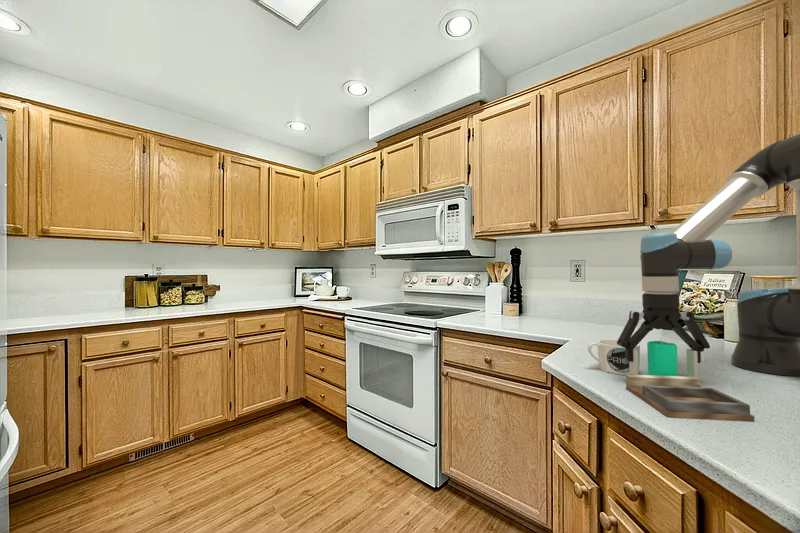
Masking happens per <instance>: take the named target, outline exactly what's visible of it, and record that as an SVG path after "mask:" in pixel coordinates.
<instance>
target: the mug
mask: <svg viewBox="0 0 800 533" xmlns="http://www.w3.org/2000/svg"><path fill="white" fill-rule="evenodd" d="M617 341H618V339H615V338H614V339H612V338H607V339H605V338H604V339H598V340H597V342H593V341H592V342H590V343H589V344H588V346H587V352H588V353H589V355H590V356H591V357H592V358H593V359H594V360H595V361H596V362H597V363H598V368H599V369H600V370H601V371H603V372H604V373H605V372H606V373H608V372H609V373H608V374H612V373H613V375H619V376H626V375H633V374H632V373H630V371H629V361H627V360H626V354H625V348H624V347H622V346H620V345H618V344H617ZM593 346H597V356H598V357H597V356H596V355H595V354H594V353H593V352H592V348H593ZM634 349H636V350H637V352H638V374H639V373H640V357H641V354H640V353H641V352H640V349H641V345H640V343H639V344H638V345H637V346H636V347H635V348H634Z"/></svg>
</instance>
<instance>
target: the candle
mask: <svg viewBox="0 0 800 533" xmlns="http://www.w3.org/2000/svg"><path fill="white" fill-rule="evenodd" d="M646 345H647V375H655V376H679V367H678V346H677V345H676V344H675V343H673V342H666V341H663V337H662V336H661V337H660V340H650V341H648V342H647V343H646Z"/></svg>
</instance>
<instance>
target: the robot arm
mask: <svg viewBox="0 0 800 533" xmlns="http://www.w3.org/2000/svg"><path fill="white" fill-rule="evenodd" d="M783 184H786V186H788V187H790V188H792V189H794V190H795V209H796V210H795V211H796V212H795V213H796V214H795V218H796V220H795V223H796V225H795V226H796V230H795V231H796V232H795V233H796V234H795V235H796V282H794V283H793V284H791V285H790V286H788V287H786V288H785V287H784V288H780V287H779V288H764V289H763V288H761V289H747V290H742V291H740V292H738V294H737V302H736V306H737V307H736V308H737V322H738V323H737V324H738V340H737V342H736V345H735V348H734V351H733V353H732V355H731V364H732V366H733V365H734V366H735V367H738V368H741V369H744V370H749V371H751V372H752V371H753V372H758V373H763V374H770V375H771V374H772V375H778V376H789V377H800V133H798V134H795V135H793V136H790V137H787V138H784V139H781V140H778V141H776V142H774V143H771V144H769V145H767V146H766V147H764V148H763V149H761V150H760V151H757V152H756V153H755V154H754V155H753V156H751V157H750V158H748V159H747V160H745V162H744V163H742V164H741V165H740V166H739V167H738V168H736V169H735V170H734V171H733V172H732V173H731V174H730V175H729V176H728V177H727V179H726V183H725V184H724V185H723V186H722V187H721V188H720V189H718V190H717V191H716V192H715V193H713V195H711V196H710V197H709V198H708V199H707V200H705V202H704V203H702V204H701V205H700V206H699V207H697V209H696V210H694V211H693V212H692V213H691V214H689V216H687V218H685V219H684V220H683V221H682V222H680V223H679V224H678V225H677V226H676V227H674V229H673V230H671V231H670V232H659V233H657V232H656V233H649V234H645V235H643V236H642V237H641V239H640V251H639V252H640V262H641V263H640V266H641V290H642V292H643V293H642V294H641V298H642V302H641V303H642V312H640V311H635V310H630V311H629V314H628V320H627V322H626V324H625V325H624V328H623V330H622V331H621V334H620V335H619V337H618V339H617V340H618V341H617V344H618V345H620V346H622V347H624V348H625V354H626V360H627V361H629V371H630V373H632V374H633V375H639V373H638V352H637V350H636V349H634V348H635V347H636V346H637V345H638V344H639V345H640V343H641V341H642V340H643V339H644V338H645V337H646V336H647V335H648V334H649V333H650V332H651V331H653V330H654V329H655V330H662V329H663V330H664V329H665V330H672V331H674V333H675V334H676V335H677V336H678V337H679V338H680V339H681V340H682V341H683V342H684V343H685V344H686V345H687V346H688V348H686V349H685V350H686V374H687V375H688V376H690V377H696V378H699V365H698V364H701V362H702V360H701V359H702V358H701V357H702V355H701V353H703V352H704V351H705V349H710V347H711V345H710V343H709V342H708V340H707V338H706V336H705V335H704V333H703V331H702V330H701V329H700V327H699V325H698V322H697V321H696V319H695V314H694V312H692V311H688V310H683V311H681V312H680V310H679V308H680V294H678V292H680V283H679V275H680V274H679V270H716V269H717V270H718V269H719V270H720V269H722V268H723V269H724V268H726V267H728V265H729V264H730V263H731V262H732V259H733V249H732V247H731V245H730V244H729V242H726V241H724V240H718V239H711V238H710V239H708V238H709V237H710V236H711V235H712V234H714V233H715V232H716V231H717V230H718V229H719V228H720V227H721V226H723V225H724V224H725V223H726V222H727V221H728V220H730V219H731V218H732V217H733V216H735V214H736V213H738V212H739V211H740V210H741V209H742V208H744V207H745V206H746V205H747V204H748V203H750V201H752V199H754V198H758V197H762V196H764V195H765V194H766V193H768V192H769V190H771V189H773V188H775V187H778V186H781V185H783ZM641 319H644V321H643V322H642V323H641V324H640V326H639V327H638V329H637V330H636V327H637V326H638V324H639V321H640V320H641ZM680 319H681V320H682V321H683V323H684V324H685V326H686V328H687V329H688V331H689V332H690V334H689V333H688V332H687V331H686V330H685V328H684V327H683V326H682V325H681V324H680V323H679V320H680ZM635 330H636V331H635Z"/></svg>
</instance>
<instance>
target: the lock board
mask: <svg viewBox="0 0 800 533" xmlns="http://www.w3.org/2000/svg"><path fill="white" fill-rule="evenodd" d="M625 384H626V385H625V386H626V388H625V389H626V390H627V391H629V392H631V394H633V395H635V396H636V397H638V398H639V399H641V400H642V401H643V402H645V403H646V404H648V405H649V406H651V407H652V408H654V409H655V410H656V411H658V412H659V413H661V414H662V415H664V416H665V417H667V418H676V419H679V418H680V419H696V420H697V419H699V420H716V421H719V420H720V421H721V420H722V421H735V420H744V421H743V422H755V415H753V414H751V405H750V404H748V403H747V402H744V401H742V400H739V399H737V398H735V397H733V396H730V395H728V394H726V393H724V392H723V391H720V390H717V389H715V388H713V387H703V386H702V387H701V379H700V378H699V377H693V376H689V375H688V376H687V375H686V376H679V375H678V376H655V375H648V374H638V375H625Z"/></svg>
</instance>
